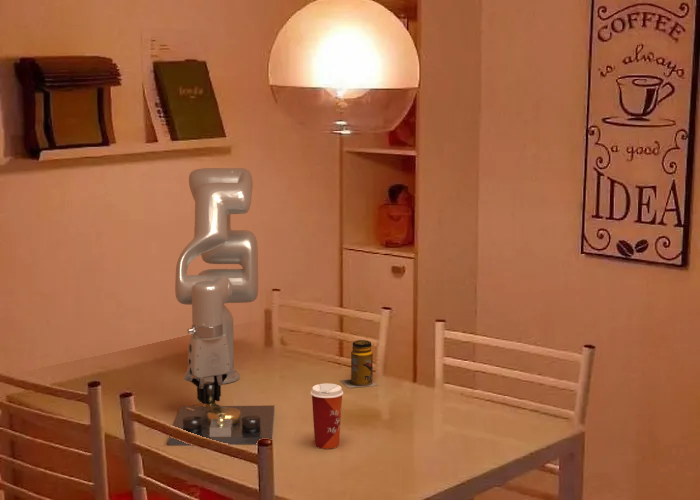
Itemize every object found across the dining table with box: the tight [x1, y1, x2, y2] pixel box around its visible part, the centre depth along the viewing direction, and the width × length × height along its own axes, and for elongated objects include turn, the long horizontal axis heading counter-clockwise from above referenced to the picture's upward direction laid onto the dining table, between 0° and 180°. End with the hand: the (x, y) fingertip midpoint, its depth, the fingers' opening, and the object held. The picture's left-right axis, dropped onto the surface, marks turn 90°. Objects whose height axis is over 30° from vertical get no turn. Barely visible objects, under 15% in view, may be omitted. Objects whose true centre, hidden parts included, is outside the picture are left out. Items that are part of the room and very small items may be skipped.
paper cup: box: [310, 383, 344, 450], centre depth 243 cm, size 8×8×14 cm
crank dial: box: [204, 382, 240, 424], centre depth 259 cm, size 16×8×7 cm, turn 28°
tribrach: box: [168, 404, 275, 446], centre depth 256 cm, size 24×24×6 cm
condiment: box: [340, 339, 378, 389], centre depth 292 cm, size 7×8×12 cm
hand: (209, 400), depth 264 cm, fingers closed on crank dial, 3 cm apart
